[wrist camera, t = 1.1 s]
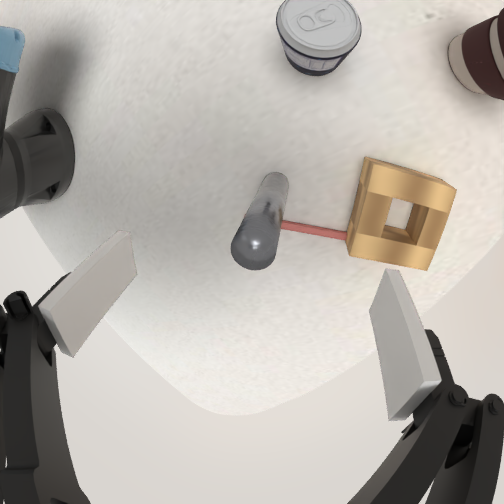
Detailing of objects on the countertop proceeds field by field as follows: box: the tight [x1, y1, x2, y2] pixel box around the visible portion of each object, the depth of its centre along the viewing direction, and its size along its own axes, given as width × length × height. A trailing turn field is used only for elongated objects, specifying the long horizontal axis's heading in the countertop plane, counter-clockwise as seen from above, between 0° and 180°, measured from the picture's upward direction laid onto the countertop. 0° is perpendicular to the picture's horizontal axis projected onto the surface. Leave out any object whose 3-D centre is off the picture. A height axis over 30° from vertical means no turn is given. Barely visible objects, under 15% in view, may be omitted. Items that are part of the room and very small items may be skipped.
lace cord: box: [244, 214, 347, 241], centre depth 32 cm, size 12×1×1 cm, turn 84°
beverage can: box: [276, 0, 361, 76], centre depth 17 cm, size 6×6×12 cm
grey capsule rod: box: [231, 172, 289, 270], centre depth 24 cm, size 3×3×15 cm
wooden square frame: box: [346, 157, 457, 271], centre depth 27 cm, size 10×10×4 cm
